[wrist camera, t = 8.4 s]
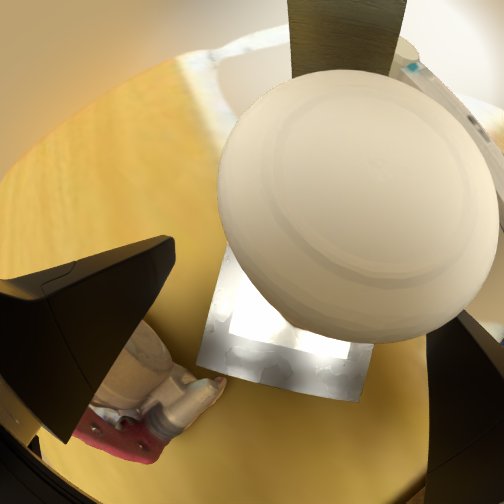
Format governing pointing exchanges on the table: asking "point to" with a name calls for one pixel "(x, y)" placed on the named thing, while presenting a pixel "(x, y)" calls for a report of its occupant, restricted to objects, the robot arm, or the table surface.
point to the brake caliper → (145, 401)
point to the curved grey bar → (449, 110)
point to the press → (231, 274)
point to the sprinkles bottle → (358, 207)
